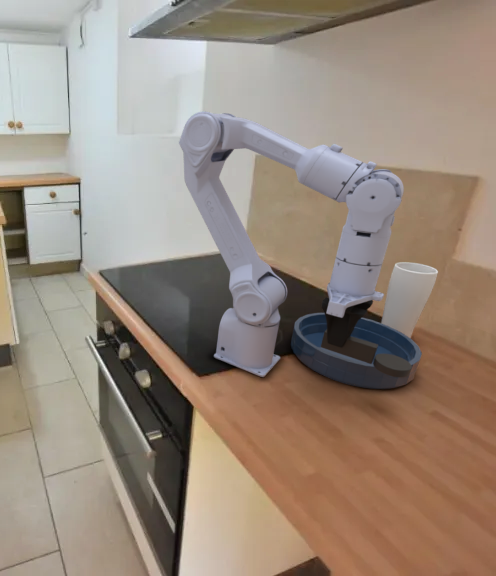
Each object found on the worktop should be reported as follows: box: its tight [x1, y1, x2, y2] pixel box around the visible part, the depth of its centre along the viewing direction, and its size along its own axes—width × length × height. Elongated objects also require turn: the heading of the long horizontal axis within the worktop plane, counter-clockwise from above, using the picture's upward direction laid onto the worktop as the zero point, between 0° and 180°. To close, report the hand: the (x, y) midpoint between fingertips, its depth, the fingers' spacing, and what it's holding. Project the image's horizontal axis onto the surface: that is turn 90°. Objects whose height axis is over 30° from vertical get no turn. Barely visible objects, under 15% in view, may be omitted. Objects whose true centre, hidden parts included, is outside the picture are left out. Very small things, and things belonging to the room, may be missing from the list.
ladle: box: [321, 330, 412, 377], centre depth 57 cm, size 12×4×3 cm, turn 47°
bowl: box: [290, 312, 423, 390], centre depth 69 cm, size 20×20×4 cm
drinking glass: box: [380, 261, 439, 339], centre depth 75 cm, size 7×7×15 cm
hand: (336, 342), depth 59 cm, fingers closed on ladle
